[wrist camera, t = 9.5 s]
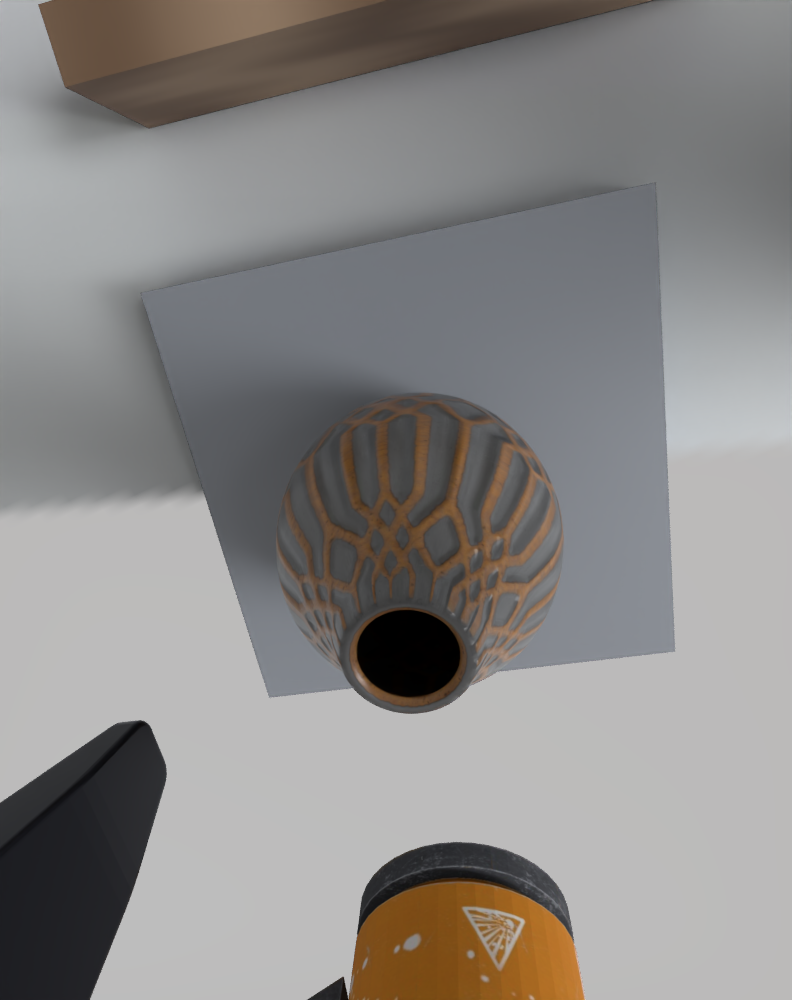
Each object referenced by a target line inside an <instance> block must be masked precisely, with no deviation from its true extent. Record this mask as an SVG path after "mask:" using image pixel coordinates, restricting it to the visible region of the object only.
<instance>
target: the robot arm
mask: <svg viewBox="0 0 792 1000" xmlns="http://www.w3.org/2000/svg"><path fill="white" fill-rule="evenodd" d="M166 775H167V773H166V764H165V761H164V759H163V756H162V754H161V751H160V749H159V747H158V744H157V742H156V739H155V737H154V734H153V732H152V729H151V727H150V726H149V725H148V724H147V723H146V722H145V721H141V720H139V721H130V722H122V723H117V724H115V725H113V726H112V727H110V728H108V729H107V730H106V731H104V732H103V733H101V734H100V735H98V736H97V737H96V738H94V739H93V740H91V741H90V742H88V743H87V744H85V745H84V746H82V747H81V748H79V749H78V750H76V751H75V752H74V753H72V754H71V755H69V756H68V757H66V758H65V759H63V760H62V761H60V762H59V763H57V764H56V765H55V766H53V767H52V768H50V769H49V770H47V771H46V772H44V773H43V774H42V775H40V776H39V777H37V778H36V779H34V780H33V781H32V782H30V783H28V784H27V785H26V786H24V787H23V788H21V789H20V790H18V791H17V792H15V793H14V794H12V795H11V796H9V797H8V798H7V799H5V800H4V801H2V802H1V803H0V1000H90V998H91V995H92V993H93V990H94V988H95V985H96V983H97V980H98V978H99V975H100V973H101V970H102V968H103V965H104V963H105V960H106V958H107V955H108V953H109V950H110V948H111V945H112V942H113V940H114V938H115V935H116V933H117V930H118V928H119V925H120V923H121V920H122V917H123V915H124V913H125V910H126V907H127V904H128V902H129V899H130V897H131V894H132V891H133V888H134V885H135V882H136V879H137V876H138V873H139V869H140V866H141V863H142V860H143V856H144V852H145V849H146V846H147V842H148V839H149V836H150V833H151V829H152V826H153V823H154V819H155V816H156V813H157V809H158V806H159V803H160V799H161V796H162V792H163V789H164V786H165V782H166Z"/></svg>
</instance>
